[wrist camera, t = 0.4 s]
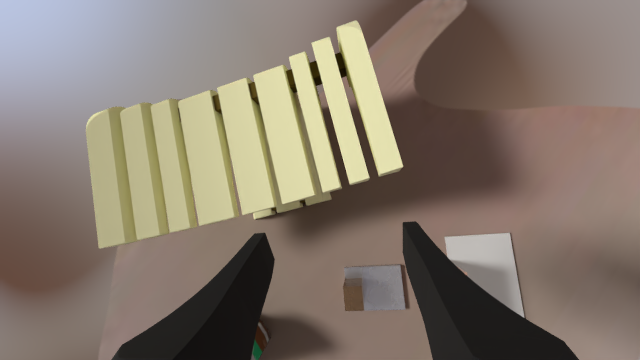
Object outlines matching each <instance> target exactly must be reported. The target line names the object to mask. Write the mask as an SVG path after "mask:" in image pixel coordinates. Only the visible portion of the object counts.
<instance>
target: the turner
mask: <svg viewBox="0 0 640 360" xmlns="http://www.w3.org/2000/svg"><path fill="white" fill-rule="evenodd" d="M344 270H345V282H344V286H343V290H344V301H345V311H363V310H405V301H404V293H403V284H402V276H401V267H400V264H394V265H373V266H352V267H344Z"/></svg>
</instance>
